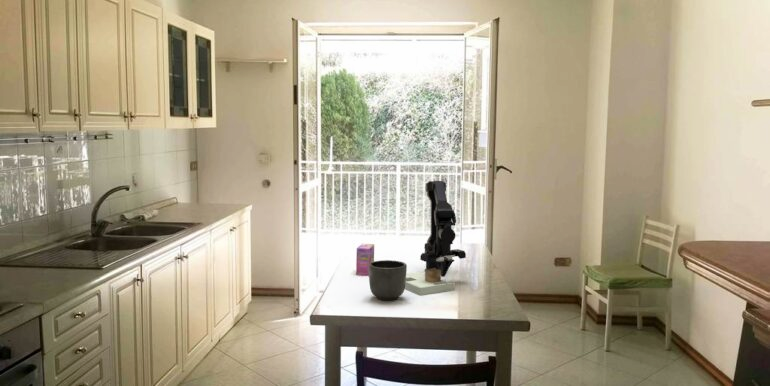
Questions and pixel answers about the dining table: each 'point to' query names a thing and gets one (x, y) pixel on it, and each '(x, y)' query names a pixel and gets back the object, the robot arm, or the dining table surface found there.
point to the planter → (387, 279)
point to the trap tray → (425, 284)
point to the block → (432, 275)
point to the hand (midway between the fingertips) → (443, 276)
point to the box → (364, 258)
